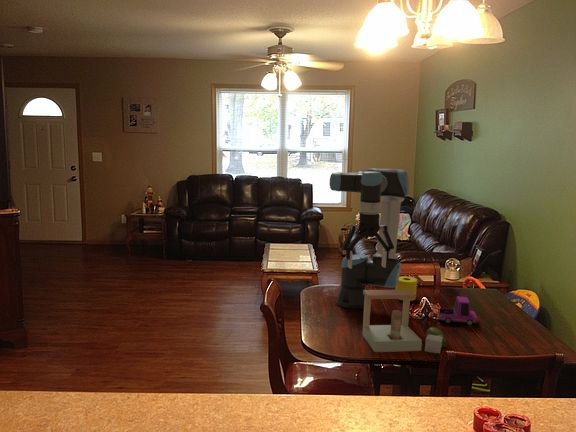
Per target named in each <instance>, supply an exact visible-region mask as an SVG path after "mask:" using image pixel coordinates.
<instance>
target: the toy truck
mask: <svg viewBox="0 0 576 432" xmlns="http://www.w3.org/2000/svg"><path fill="white" fill-rule="evenodd" d="M470 303H471V301H470V300H469V298H468V296H458V295H457V296H456V299H455V304H454V307H453V308H443V307H442V308H441V307H439V308H440V312H439V309H438V315H437V317H438V320H439V321H444V322H445V323H446V324H451V323H452V322H457V323H466V324H467V325H468V326H472V325H473V324H478V317H477V314H476V313H475V311H474V310H471V304H470Z"/></svg>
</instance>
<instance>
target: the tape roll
mask: <svg viewBox="0 0 576 432" xmlns="http://www.w3.org/2000/svg"><path fill="white" fill-rule="evenodd" d="M417 283H418V279H417V278H416V277H412V276H405V275H402V276H401V275H400V276H399V280H398V282H397V285H396V286H395V287H394V290H411V291H412V292H413V293H414V294H415V295H416V297H417V288H418V287H417V285H418V284H417ZM416 297H415V298H410V302H411V301H412V302H413V301H415V300H416ZM398 300H399V301H403V299H398Z"/></svg>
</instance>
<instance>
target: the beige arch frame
mask: <svg viewBox="0 0 576 432" xmlns="http://www.w3.org/2000/svg"><path fill="white" fill-rule="evenodd" d="M363 294H364V295H365V299H364V308H363V316H362V317H363V319H362V327H363V326H364V328H366V327H369V325H371V324H370V323H371V322H370V319H371V306H372V305H371V304H372V300H390V299H391V300H392V299H393V300H399V299H403V300H402V309H401V310H402V311H401V312H402V324H401V325H402V326H403V327H405V326H408V327H409V323H408V322H409V321H410V320H409V318H410V317H409V316H410V305H411V304H410V303H411V301H410V298H415V297H417V294H416V295H415V294H414V293H413V292H412V291H411V290H395V289H366V290H363Z"/></svg>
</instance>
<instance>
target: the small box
mask: <svg viewBox="0 0 576 432" xmlns="http://www.w3.org/2000/svg"><path fill="white" fill-rule="evenodd" d="M442 339H443V337H440V336H435V335H430V334H428V335H427V336H426V338H425V343H424V344H425V345H424V352H427V353H428V352H429V353H432V354H437V353H439V354H441V351H442V348H443V347H442Z"/></svg>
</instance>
